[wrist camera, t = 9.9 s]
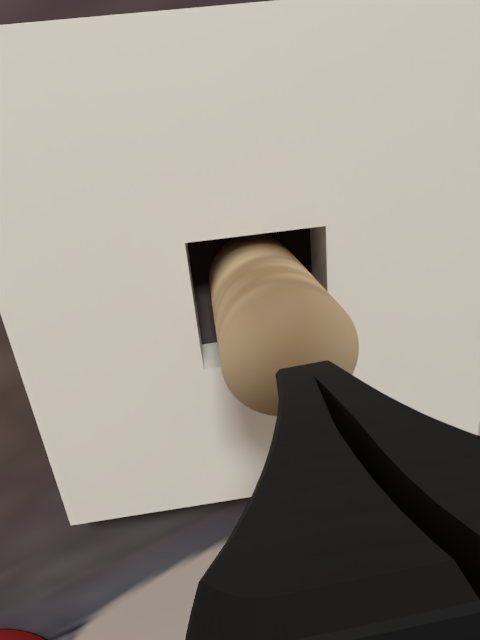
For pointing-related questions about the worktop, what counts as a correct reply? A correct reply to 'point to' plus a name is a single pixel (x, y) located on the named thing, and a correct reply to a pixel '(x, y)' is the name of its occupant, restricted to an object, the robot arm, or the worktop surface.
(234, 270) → the maple dowel
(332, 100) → the holder board
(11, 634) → the canned food
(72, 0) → the worktop surface
